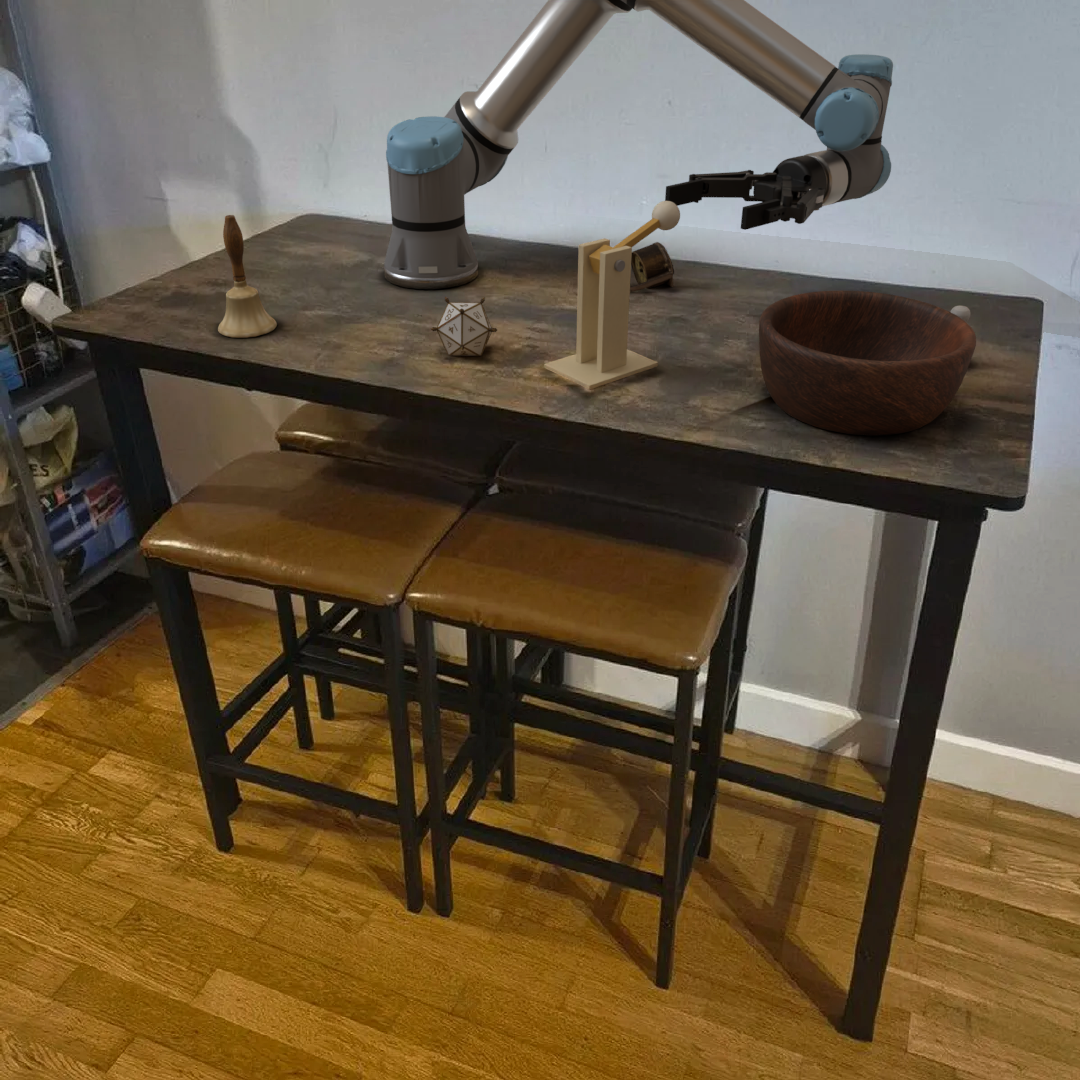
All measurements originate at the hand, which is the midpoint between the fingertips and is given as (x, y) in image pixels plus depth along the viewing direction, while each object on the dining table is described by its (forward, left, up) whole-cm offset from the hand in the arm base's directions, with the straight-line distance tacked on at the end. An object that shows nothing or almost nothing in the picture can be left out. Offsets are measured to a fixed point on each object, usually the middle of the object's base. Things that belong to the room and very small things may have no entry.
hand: (704, 207), depth 139 cm
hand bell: (-15, -62, -19) cm, 67 cm away
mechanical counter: (-23, -3, -19) cm, 30 cm away
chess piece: (+13, +32, -19) cm, 39 cm away
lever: (+6, -10, -3) cm, 12 cm away
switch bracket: (+9, -15, -19) cm, 25 cm away
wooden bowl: (+23, +14, -19) cm, 33 cm away
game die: (+1, -32, -19) cm, 37 cm away
